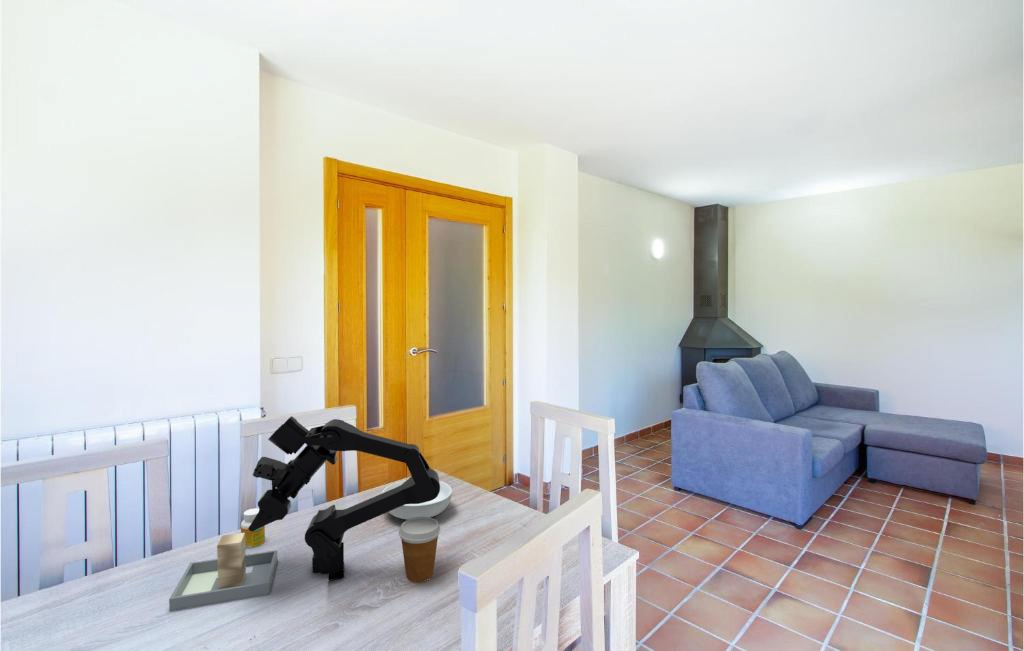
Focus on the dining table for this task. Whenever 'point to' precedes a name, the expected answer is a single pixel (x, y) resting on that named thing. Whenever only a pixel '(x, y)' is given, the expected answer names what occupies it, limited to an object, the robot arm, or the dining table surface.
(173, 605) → the box
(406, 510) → the serving bowl
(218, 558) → the maple post
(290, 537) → the dining table surface
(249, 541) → the supplement bottle
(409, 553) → the disposable coffee cup
